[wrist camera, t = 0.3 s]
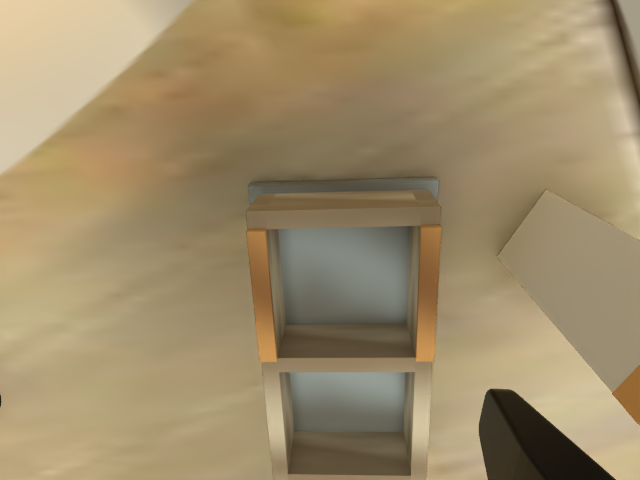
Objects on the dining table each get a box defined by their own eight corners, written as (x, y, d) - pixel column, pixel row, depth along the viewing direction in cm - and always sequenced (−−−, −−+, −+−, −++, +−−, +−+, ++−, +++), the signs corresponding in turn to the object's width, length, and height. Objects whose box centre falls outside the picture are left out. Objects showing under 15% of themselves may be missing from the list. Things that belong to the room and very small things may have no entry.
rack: (423, 438, 27) (436, 498, 23) (275, 437, 27) (264, 495, 23) (435, 177, 21) (455, 198, 17) (251, 182, 22) (231, 204, 18)
